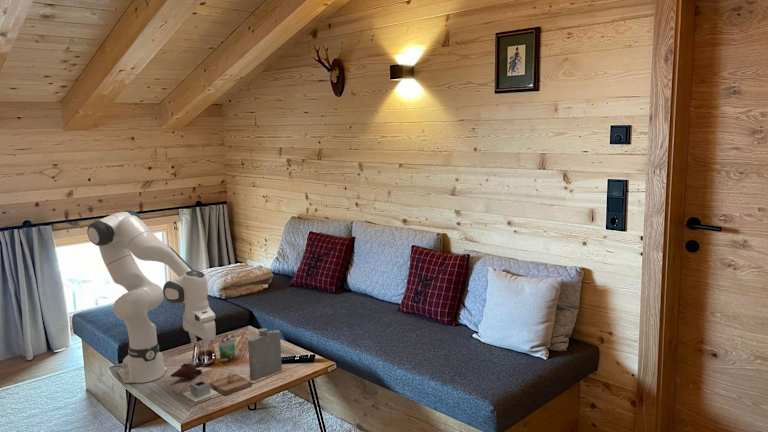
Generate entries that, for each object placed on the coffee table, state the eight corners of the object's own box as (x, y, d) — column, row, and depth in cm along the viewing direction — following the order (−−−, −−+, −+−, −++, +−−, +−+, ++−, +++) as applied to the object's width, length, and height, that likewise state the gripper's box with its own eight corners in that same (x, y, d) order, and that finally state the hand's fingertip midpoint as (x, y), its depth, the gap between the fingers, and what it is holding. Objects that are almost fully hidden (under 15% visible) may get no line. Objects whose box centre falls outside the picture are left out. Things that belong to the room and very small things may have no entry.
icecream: (176, 372, 248) (208, 364, 259) (167, 364, 252) (199, 356, 264) (173, 387, 249) (205, 378, 261) (165, 378, 254) (196, 370, 265)
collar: (190, 393, 242) (189, 384, 241) (203, 388, 246) (202, 379, 245) (197, 397, 238) (196, 388, 237) (210, 393, 242) (209, 383, 241)
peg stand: (210, 387, 248) (209, 373, 247) (235, 378, 256) (235, 364, 256) (225, 395, 240) (224, 381, 239) (251, 386, 248) (250, 372, 247)
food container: (233, 363, 272) (232, 342, 270) (219, 364, 272) (218, 342, 270) (240, 353, 284) (238, 333, 283) (227, 353, 284) (225, 333, 283)
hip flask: (253, 381, 253) (250, 335, 250) (247, 378, 256) (244, 333, 252) (283, 369, 264) (281, 325, 261) (277, 366, 267) (275, 323, 264)
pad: (183, 394, 242) (183, 393, 242) (205, 386, 249) (205, 385, 249) (195, 402, 235) (195, 401, 235) (218, 393, 242) (218, 392, 242)
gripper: (177, 308, 243) (179, 341, 245) (202, 319, 228) (205, 354, 230) (192, 304, 247) (194, 337, 249) (217, 315, 233) (219, 349, 235)
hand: (199, 345), depth 240 cm, fingers open, 8 cm apart
